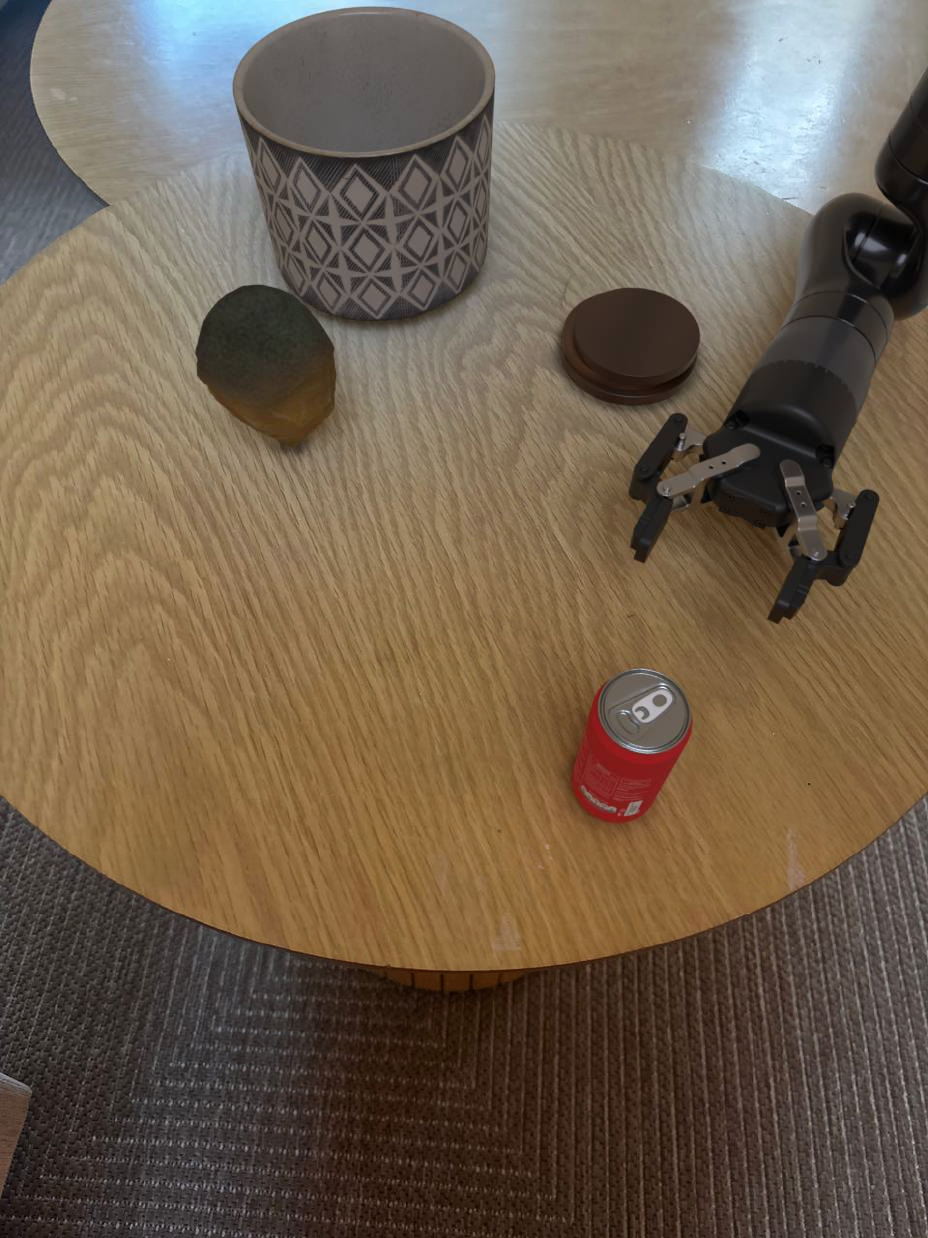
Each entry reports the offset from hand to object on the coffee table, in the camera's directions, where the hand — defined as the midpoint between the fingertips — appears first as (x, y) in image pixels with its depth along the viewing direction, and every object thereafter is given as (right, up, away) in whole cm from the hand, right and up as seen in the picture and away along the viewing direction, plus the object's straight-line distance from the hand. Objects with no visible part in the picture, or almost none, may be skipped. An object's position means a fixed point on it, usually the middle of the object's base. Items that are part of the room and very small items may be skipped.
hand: (707, 584), depth 52 cm
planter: (-21, +30, +27) cm, 46 cm away
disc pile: (-1, +20, +21) cm, 29 cm away
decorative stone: (-28, +11, +17) cm, 35 cm away
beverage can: (-5, -13, +3) cm, 14 cm away
